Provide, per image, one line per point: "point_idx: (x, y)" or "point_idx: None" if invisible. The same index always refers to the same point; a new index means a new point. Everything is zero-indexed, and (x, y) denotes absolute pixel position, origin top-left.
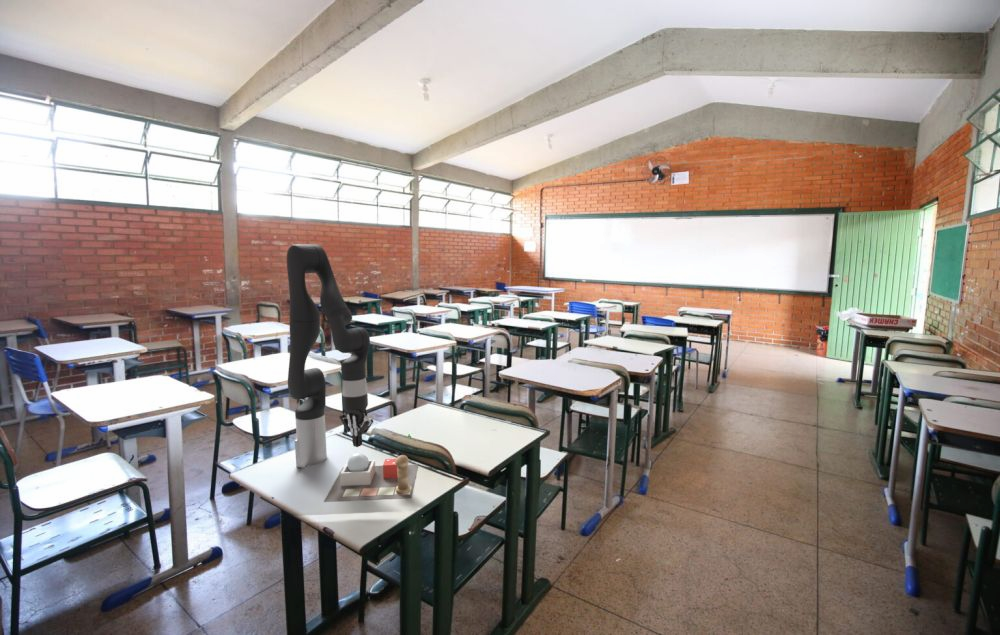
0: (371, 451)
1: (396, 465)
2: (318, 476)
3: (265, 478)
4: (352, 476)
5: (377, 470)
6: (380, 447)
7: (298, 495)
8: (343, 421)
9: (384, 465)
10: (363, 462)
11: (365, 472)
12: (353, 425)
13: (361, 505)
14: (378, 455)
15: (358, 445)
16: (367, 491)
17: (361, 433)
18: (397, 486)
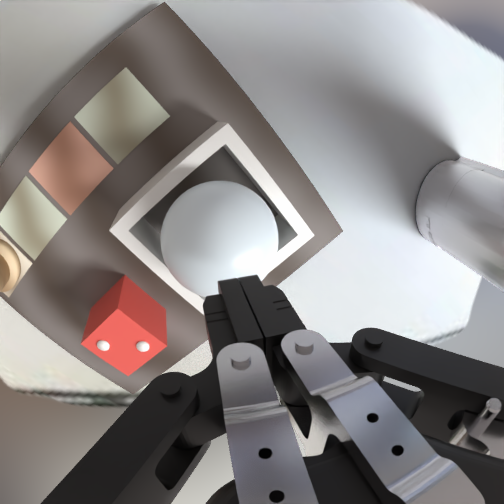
0: None
1: (82, 340)
2: (378, 148)
3: (472, 71)
4: (176, 163)
5: None
6: None
7: (324, 16)
8: (476, 379)
9: (113, 312)
10: (163, 247)
11: (124, 215)
12: (291, 444)
13: None
14: None
15: (207, 296)
16: (76, 166)
17: (140, 396)
18: (9, 260)
